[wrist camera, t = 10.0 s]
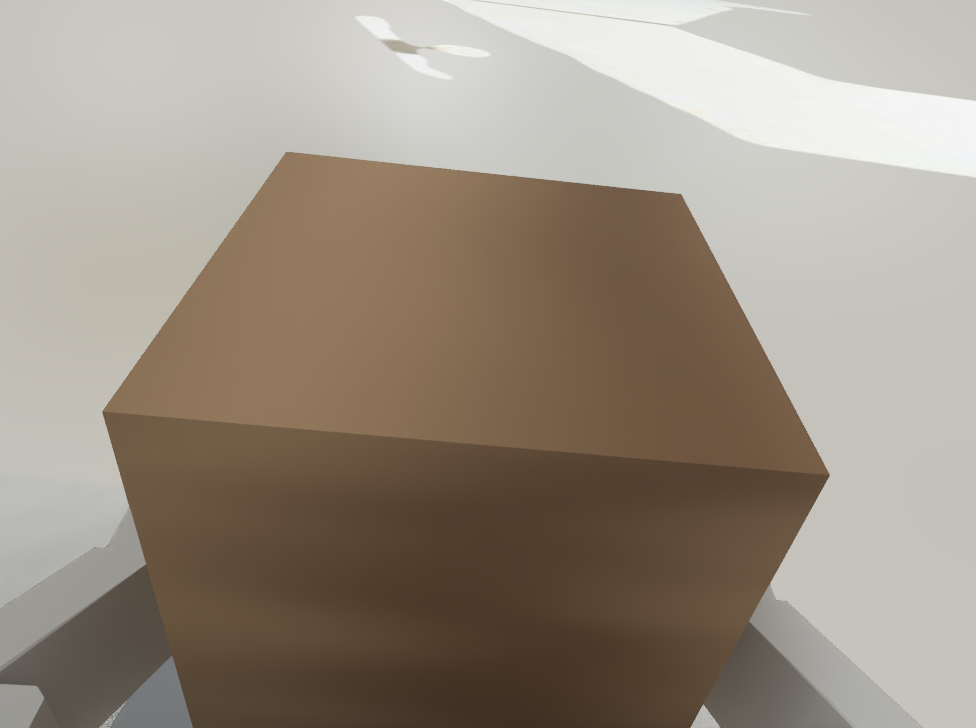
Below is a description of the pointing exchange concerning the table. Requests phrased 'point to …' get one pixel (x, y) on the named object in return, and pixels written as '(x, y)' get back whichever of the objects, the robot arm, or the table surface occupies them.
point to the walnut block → (457, 457)
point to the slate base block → (156, 703)
